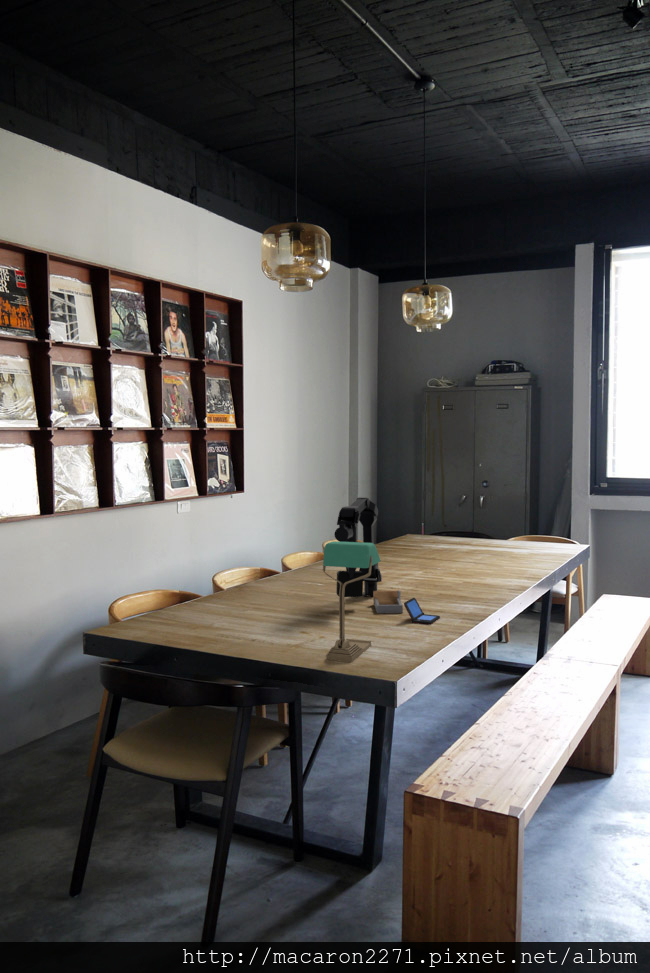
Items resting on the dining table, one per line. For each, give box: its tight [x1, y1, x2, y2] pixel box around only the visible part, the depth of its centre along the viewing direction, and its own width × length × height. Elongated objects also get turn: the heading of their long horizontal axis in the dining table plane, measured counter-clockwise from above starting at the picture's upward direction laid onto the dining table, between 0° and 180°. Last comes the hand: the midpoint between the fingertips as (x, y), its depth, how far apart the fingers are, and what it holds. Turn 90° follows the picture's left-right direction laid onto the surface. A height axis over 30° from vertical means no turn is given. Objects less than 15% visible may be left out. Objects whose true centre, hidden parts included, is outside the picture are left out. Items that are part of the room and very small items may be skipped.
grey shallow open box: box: [374, 598, 404, 614], centre depth 303 cm, size 14×10×3 cm
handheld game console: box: [403, 597, 441, 625], centre depth 284 cm, size 12×11×7 cm
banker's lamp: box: [322, 540, 381, 663], centre depth 240 cm, size 16×21×35 cm
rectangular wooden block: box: [372, 589, 402, 606], centre depth 311 cm, size 11×2×6 cm, turn 93°
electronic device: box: [336, 570, 364, 598], centre depth 303 cm, size 4×10×10 cm, turn 98°
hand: (350, 577), depth 303 cm, fingers closed on electronic device, 4 cm apart
